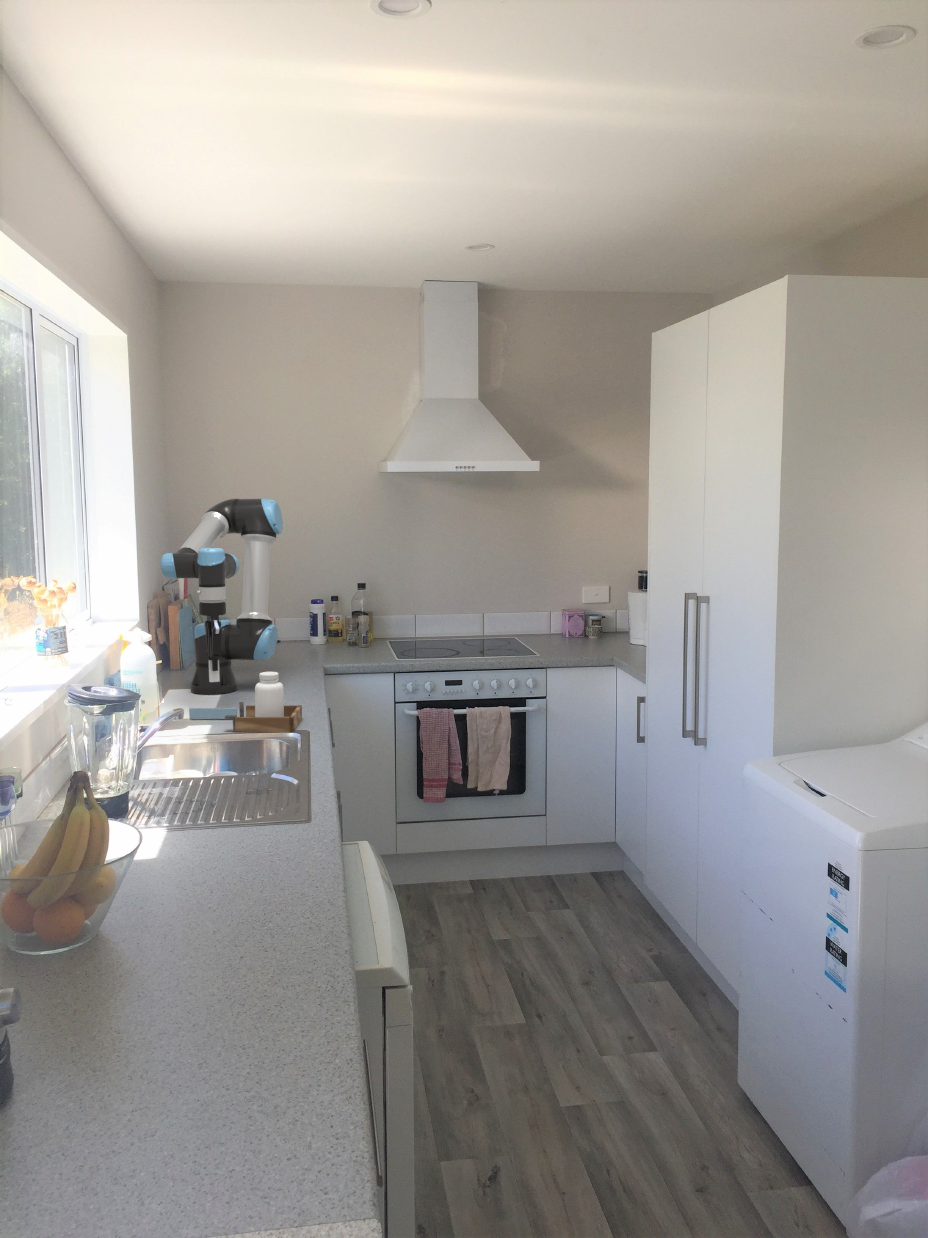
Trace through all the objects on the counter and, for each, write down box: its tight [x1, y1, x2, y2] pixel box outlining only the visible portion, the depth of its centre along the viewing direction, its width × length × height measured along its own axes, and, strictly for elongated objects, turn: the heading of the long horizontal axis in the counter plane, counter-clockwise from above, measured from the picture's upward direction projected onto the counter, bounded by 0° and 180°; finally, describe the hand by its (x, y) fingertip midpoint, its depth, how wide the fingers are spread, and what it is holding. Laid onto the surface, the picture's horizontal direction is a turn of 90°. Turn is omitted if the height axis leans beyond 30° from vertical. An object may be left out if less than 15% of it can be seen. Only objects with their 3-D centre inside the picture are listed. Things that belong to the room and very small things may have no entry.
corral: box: [224, 701, 303, 733], centre depth 269 cm, size 16×19×5 cm
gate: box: [188, 707, 238, 720], centre depth 276 cm, size 14×1×3 cm, turn 91°
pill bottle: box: [254, 671, 285, 717], centre depth 268 cm, size 8×8×15 cm
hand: (214, 681), depth 280 cm, fingers closed
